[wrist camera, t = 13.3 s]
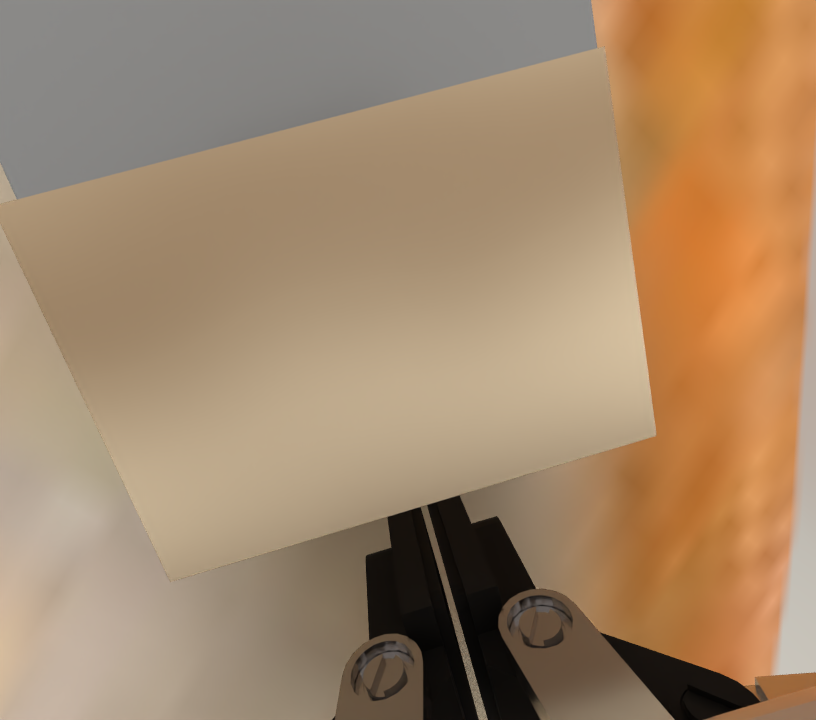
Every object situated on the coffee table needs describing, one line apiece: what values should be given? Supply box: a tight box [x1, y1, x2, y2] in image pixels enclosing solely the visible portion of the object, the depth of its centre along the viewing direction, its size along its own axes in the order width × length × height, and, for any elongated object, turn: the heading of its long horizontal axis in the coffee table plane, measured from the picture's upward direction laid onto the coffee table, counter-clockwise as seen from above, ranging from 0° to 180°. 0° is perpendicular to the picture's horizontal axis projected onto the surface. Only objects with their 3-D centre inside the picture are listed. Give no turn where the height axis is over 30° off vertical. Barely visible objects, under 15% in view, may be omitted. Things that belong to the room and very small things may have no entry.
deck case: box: [0, 46, 656, 582], centre depth 11 cm, size 5×7×11 cm
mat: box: [0, 0, 597, 199], centre depth 15 cm, size 20×19×1 cm
